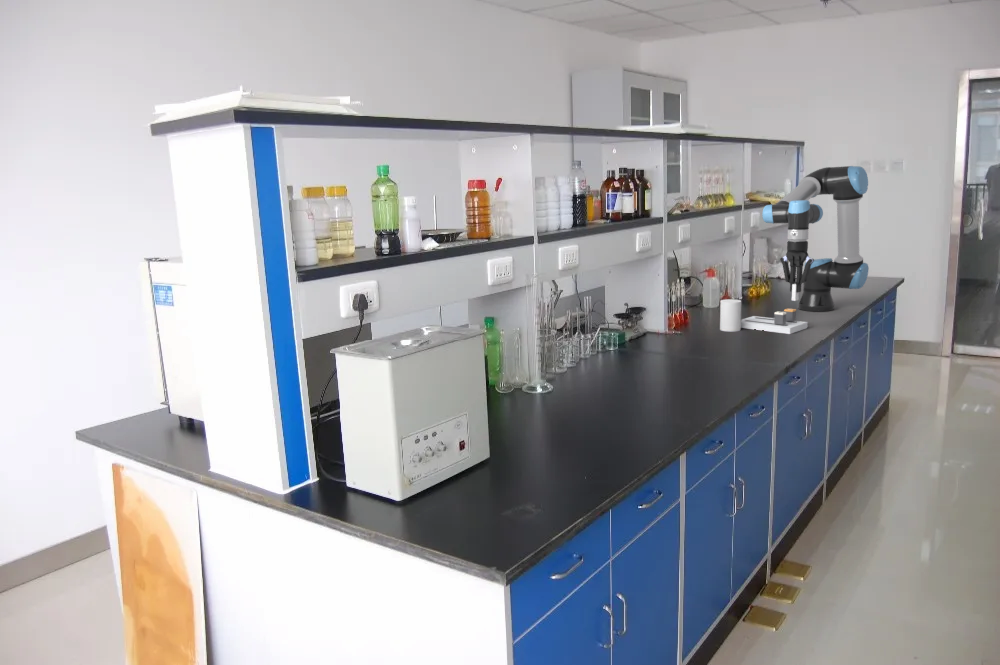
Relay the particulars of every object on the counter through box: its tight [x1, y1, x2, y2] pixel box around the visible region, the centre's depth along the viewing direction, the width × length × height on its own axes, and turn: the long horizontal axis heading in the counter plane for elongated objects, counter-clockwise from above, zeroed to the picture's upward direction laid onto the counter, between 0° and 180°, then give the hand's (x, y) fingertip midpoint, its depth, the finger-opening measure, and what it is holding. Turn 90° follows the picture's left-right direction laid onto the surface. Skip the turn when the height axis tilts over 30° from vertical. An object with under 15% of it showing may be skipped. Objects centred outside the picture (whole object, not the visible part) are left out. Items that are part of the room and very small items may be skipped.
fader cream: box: [773, 310, 786, 325], centre depth 296 cm, size 3×4×5 cm
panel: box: [741, 315, 809, 335], centre depth 304 cm, size 15×24×3 cm, turn 42°
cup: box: [719, 298, 742, 333], centre depth 303 cm, size 8×8×12 cm
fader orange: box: [783, 308, 797, 322], centre depth 301 cm, size 3×4×5 cm
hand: (795, 300), depth 290 cm, fingers closed
